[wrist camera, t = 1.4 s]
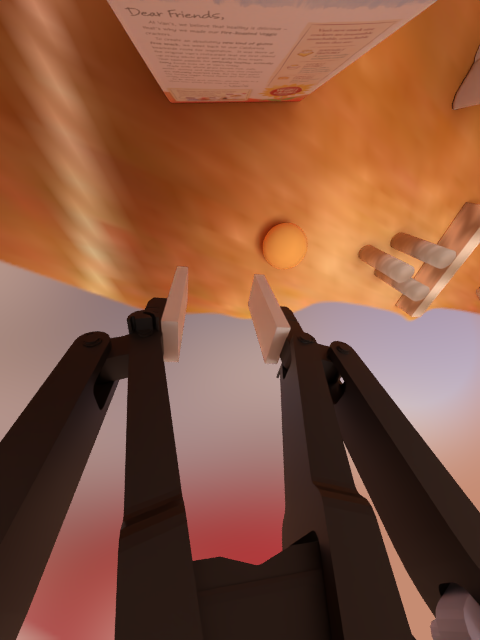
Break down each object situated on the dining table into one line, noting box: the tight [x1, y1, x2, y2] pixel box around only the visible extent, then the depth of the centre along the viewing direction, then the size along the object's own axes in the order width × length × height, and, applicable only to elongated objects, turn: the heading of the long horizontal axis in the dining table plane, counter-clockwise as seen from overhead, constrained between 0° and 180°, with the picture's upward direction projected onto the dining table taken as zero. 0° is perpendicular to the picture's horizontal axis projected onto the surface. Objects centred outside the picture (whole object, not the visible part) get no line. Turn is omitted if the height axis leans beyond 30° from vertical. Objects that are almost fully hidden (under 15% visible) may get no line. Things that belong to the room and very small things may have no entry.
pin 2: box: [374, 269, 430, 301], centre depth 33 cm, size 2×2×8 cm
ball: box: [263, 223, 307, 269], centre depth 29 cm, size 6×6×6 cm
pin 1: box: [391, 233, 456, 269], centre depth 30 cm, size 2×2×8 cm
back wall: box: [396, 203, 480, 317], centre depth 35 cm, size 18×2×4 cm, turn 171°
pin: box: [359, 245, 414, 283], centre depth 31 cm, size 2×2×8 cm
